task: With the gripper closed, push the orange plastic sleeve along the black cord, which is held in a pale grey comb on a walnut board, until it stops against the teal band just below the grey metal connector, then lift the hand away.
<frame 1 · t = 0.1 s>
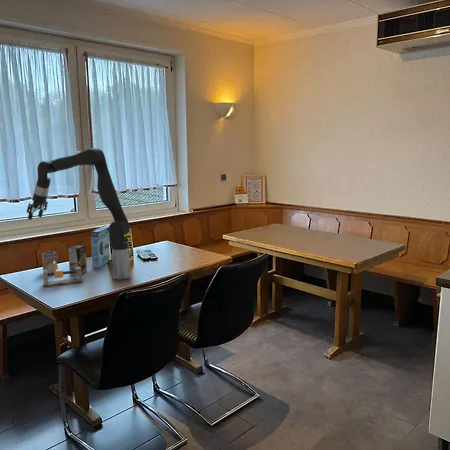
hand: (34, 218, 261), 31 cm above the table, tool tilted 20°, fingers open, 8 cm apart
sleeve: (58, 269, 237), point 8 cm above the table, slide at 0.0 cm
beverage can: (51, 272, 259), on the table
coffee box: (78, 273, 258), on the table
cord rig: (63, 283, 239), on the table
light blue box: (102, 263, 278), on the table
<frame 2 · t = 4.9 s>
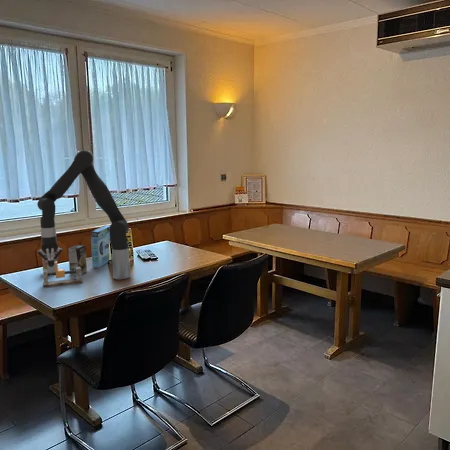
hand: (51, 266, 235), 10 cm above the table, tool pointing down, fingers closed
sleeve: (59, 269, 237), point 8 cm above the table, slide at 0.9 cm, touching gripper
everything else where it was.
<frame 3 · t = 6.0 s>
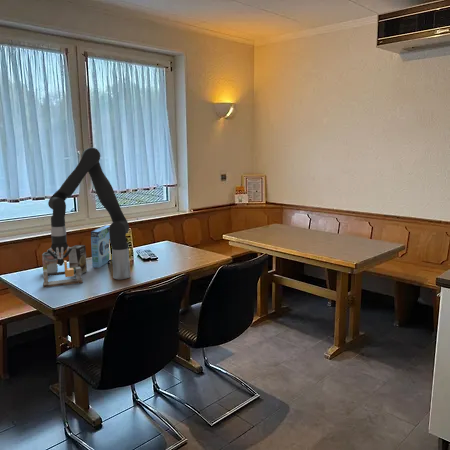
hand: (60, 265, 237), 10 cm above the table, tool pointing down, fingers closed
sleeve: (69, 268, 239), point 8 cm above the table, slide at 5.6 cm, touching gripper
everything else where it was.
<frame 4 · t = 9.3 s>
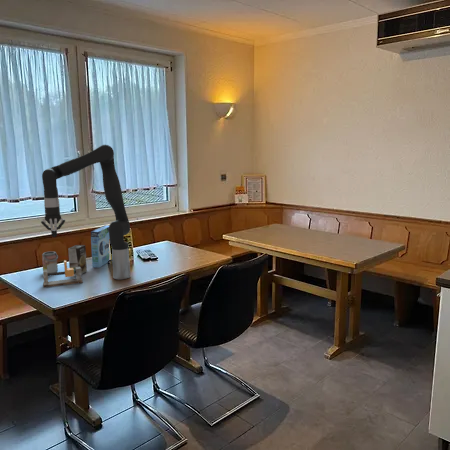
hand: (54, 236, 240), 25 cm above the table, tool pointing down, fingers closed
sleeve: (69, 268, 239), point 8 cm above the table, slide at 5.5 cm
everything else where it was.
at the end: sleeve slide at 5.5 cm; the gripper is holding nothing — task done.
